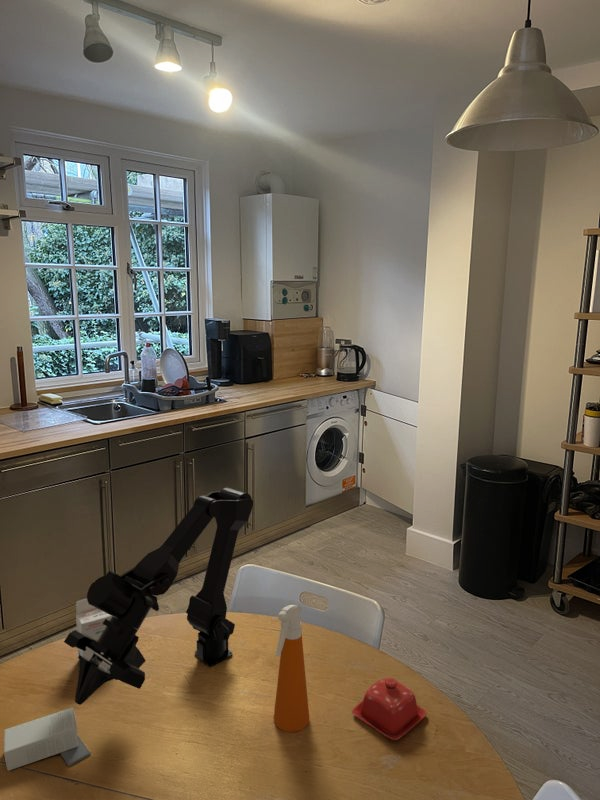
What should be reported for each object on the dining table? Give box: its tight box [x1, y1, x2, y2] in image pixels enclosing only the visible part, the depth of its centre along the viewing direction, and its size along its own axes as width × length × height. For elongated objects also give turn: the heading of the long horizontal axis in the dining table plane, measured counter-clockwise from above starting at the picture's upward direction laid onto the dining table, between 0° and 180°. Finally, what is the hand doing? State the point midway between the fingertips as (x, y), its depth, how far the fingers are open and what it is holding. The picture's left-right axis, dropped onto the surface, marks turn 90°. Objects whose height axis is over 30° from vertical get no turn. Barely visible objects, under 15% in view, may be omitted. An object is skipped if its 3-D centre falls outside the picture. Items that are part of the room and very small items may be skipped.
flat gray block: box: [59, 736, 91, 767], centre depth 110 cm, size 4×7×1 cm, turn 43°
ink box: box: [75, 598, 112, 662], centre depth 135 cm, size 8×5×15 cm, turn 124°
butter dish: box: [351, 677, 428, 741], centre depth 119 cm, size 12×12×8 cm
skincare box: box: [3, 707, 79, 772], centre depth 110 cm, size 6×4×12 cm
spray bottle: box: [273, 604, 310, 733], centre depth 114 cm, size 7×11×26 cm, turn 158°
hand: (77, 703), depth 110 cm, fingers closed
